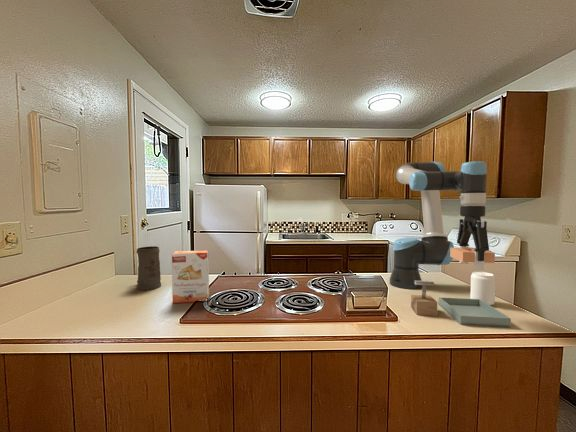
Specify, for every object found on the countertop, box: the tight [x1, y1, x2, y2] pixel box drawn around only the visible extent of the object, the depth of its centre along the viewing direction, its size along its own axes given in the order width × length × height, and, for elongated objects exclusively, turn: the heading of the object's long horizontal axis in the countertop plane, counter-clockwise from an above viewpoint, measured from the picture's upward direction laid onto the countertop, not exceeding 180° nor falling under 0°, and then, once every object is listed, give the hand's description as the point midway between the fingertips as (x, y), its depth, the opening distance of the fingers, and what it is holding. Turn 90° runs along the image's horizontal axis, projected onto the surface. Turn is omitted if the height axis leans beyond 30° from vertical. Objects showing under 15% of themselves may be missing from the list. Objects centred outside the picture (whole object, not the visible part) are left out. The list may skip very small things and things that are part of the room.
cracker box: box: [171, 250, 210, 304], centre depth 114 cm, size 14×6×21 cm, turn 100°
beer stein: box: [136, 245, 162, 291], centre depth 135 cm, size 15×11×20 cm
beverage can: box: [469, 271, 496, 306], centre depth 111 cm, size 8×8×12 cm
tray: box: [438, 297, 512, 328], centre depth 99 cm, size 18×15×3 cm
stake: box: [410, 280, 438, 317], centre depth 102 cm, size 7×7×12 cm
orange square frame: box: [450, 247, 496, 264], centre depth 98 cm, size 10×11×4 cm
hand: (471, 266), depth 98 cm, fingers closed on orange square frame, 10 cm apart
